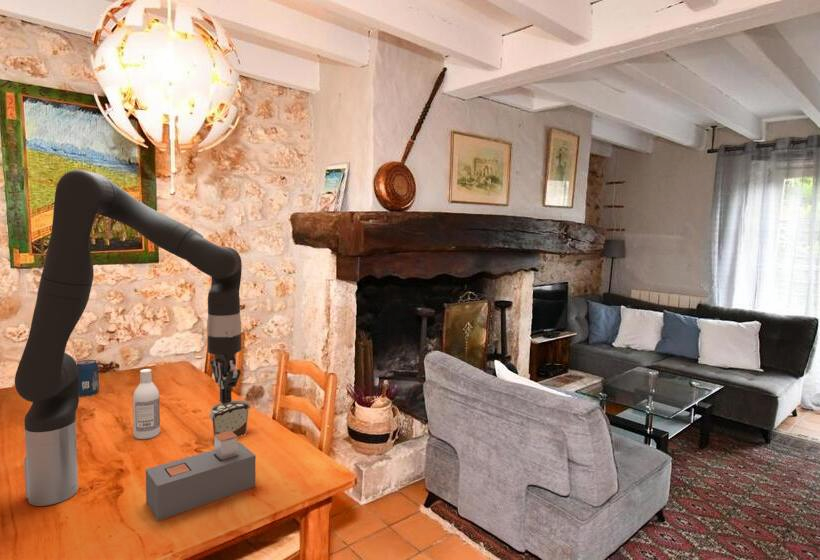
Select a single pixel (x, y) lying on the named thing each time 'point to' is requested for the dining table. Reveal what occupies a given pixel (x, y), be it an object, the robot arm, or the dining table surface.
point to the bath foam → (146, 407)
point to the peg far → (225, 445)
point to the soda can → (88, 377)
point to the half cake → (230, 417)
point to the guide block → (198, 482)
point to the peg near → (177, 470)
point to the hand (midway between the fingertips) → (225, 402)
